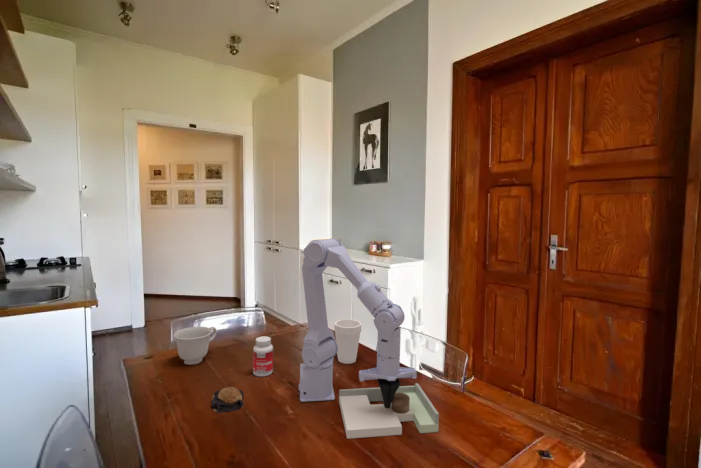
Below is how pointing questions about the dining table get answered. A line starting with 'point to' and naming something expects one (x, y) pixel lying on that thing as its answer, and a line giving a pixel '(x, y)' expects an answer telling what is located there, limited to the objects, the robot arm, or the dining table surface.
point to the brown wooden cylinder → (400, 403)
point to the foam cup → (347, 339)
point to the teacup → (194, 343)
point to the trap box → (385, 412)
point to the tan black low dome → (227, 400)
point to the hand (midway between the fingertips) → (386, 406)
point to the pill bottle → (263, 357)
